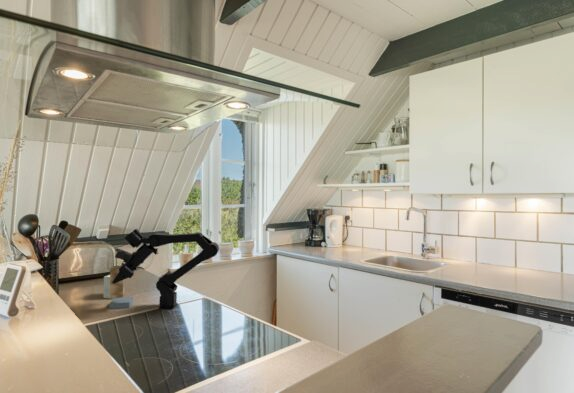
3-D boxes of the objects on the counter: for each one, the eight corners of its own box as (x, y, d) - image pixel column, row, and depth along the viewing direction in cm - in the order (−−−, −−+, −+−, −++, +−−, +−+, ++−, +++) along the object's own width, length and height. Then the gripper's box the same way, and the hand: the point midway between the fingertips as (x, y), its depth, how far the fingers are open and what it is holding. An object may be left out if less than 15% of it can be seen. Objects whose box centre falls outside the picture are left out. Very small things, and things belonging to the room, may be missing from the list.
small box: (113, 299, 165) (113, 277, 165) (103, 298, 166) (103, 276, 166) (124, 294, 173) (124, 273, 173) (114, 293, 174) (114, 272, 174)
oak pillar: (124, 294, 156) (124, 265, 155) (122, 297, 151) (122, 267, 151) (111, 295, 154) (111, 266, 154) (110, 298, 149) (109, 268, 149)
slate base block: (133, 303, 162) (133, 296, 162) (129, 309, 154) (129, 302, 154) (114, 303, 160) (115, 297, 160) (109, 309, 152) (109, 303, 152)
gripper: (129, 239, 162) (102, 264, 159) (124, 246, 144) (94, 274, 141) (147, 255, 165) (121, 280, 162) (144, 264, 147) (116, 292, 144)
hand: (113, 281), depth 152 cm, fingers closed on oak pillar, 5 cm apart
